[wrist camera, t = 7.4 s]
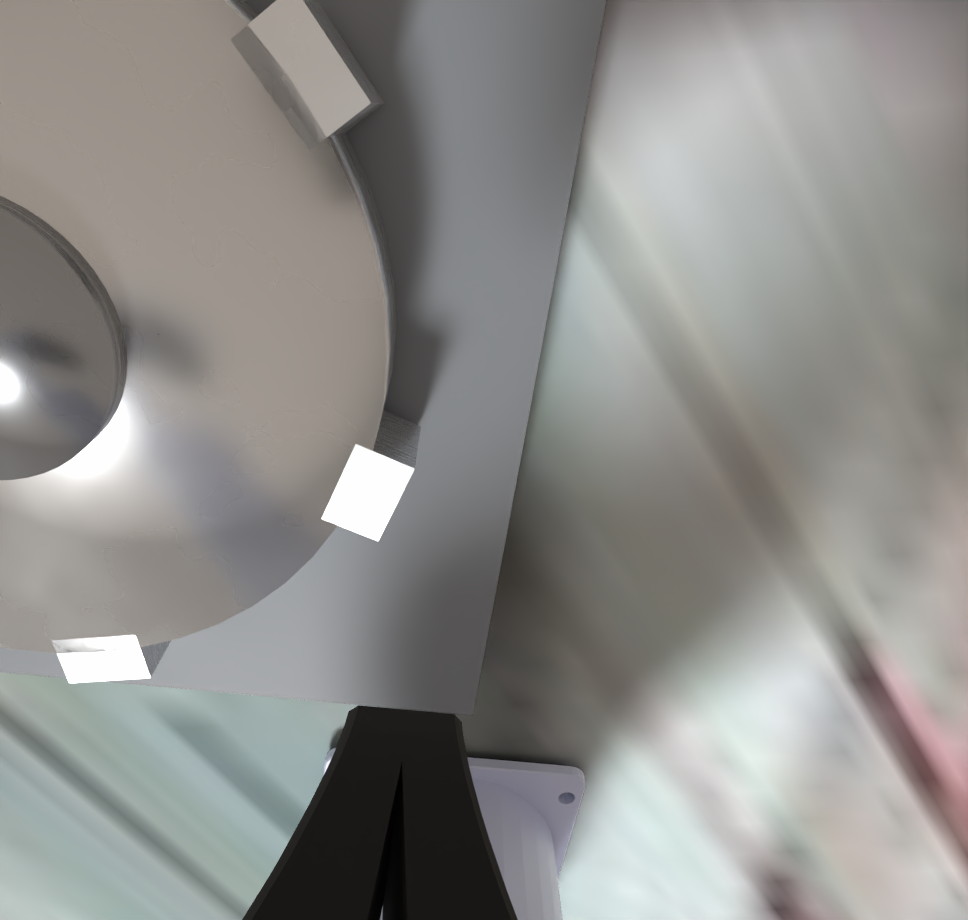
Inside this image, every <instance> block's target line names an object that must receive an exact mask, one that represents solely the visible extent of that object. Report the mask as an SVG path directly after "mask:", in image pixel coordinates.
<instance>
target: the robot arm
mask: <svg viewBox="0 0 968 920" xmlns="http://www.w3.org/2000/svg"><path fill="white" fill-rule="evenodd" d="M584 790H585V777H584V774H583V772H582V770H580V769H578V768H577V767H572V766H563V765H552V764H540V763H529V762H517V761H505V760H494V759H482V758H471V757H467V754H466V749H465V743H464V738H463V731H462V722H461V721H460V720H459V719H458V718H457V717H456V716H455V715H454V714H446V713H435V712H424V711H413V710H402V709H391V708H380V707H369V706H357V707H355V708H354V709H352V710H351V711H349V713H348V716H347V719H346V723H345V726H344V729H343V732H342V734H341V737H340V739H339V742H338V744H337V747H336V748H333V749H331V750H330V751H329V752H328V753H327V756H326V759H325V764H324V776H323V778H322V780H321V782H320V784H319V786H318V788H317V790H316V792H315V794H314V796H313V798H312V800H311V802H310V804H309V806H308V808H307V810H306V812H305V813H304V815H303V817H302V819H301V821H300V823H299V824H298V826H297V828H296V830H295V832H294V834H293V835H292V837H291V839H290V841H289V843H288V844H287V846H286V848H285V850H284V852H283V854H282V855H281V857H280V859H279V861H278V862H277V864H276V866H275V868H274V869H273V871H272V873H271V874H270V876H269V878H268V879H267V881H266V882H265V884H264V886H263V887H262V889H261V891H260V892H259V894H258V895H257V897H256V899H255V900H254V902H253V903H252V905H251V907H250V908H249V910H248V911H247V913H246V915H245V916H244V918H243V919H242V920H563V919H562V911H561V902H560V894H559V885H558V878H559V875H560V871H561V868H562V865H563V861H564V858H565V854H566V851H567V848H568V844H569V841H570V838H571V834H572V831H573V827H574V824H575V821H576V817H577V814H578V811H579V807H580V804H581V800H582V797H583V794H584ZM566 792H568V793H566Z"/></svg>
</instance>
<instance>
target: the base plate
mask: <svg viewBox="0 0 968 920" xmlns="http://www.w3.org/2000/svg"><path fill="white" fill-rule="evenodd" d="M245 1H246V2H247V3H248V4H249V5H250V6H251V7H252V8H253V9H254V10H255V11H256V12H257V13H258V14H259V15H260V14H261V13H262V12H263V11H264V10H265V9H267V8H268V7H269V6H270V5H271V4H272V3H274V2H275V1H276V0H245ZM315 1H317V2H318V3H319V4H320V5H321V7H322V8H323V10H324V11H325V13H326V14H327V16H328V17H329V19H330V20H331V22H332V24H333V25H334V27H335V28H336V30H337V31H338V33H339V34H340V36H341V37H342V39H343V40H344V42H345V43H346V45H347V46H348V48H349V50H350V51H351V53H352V54H353V56H354V57H355V59H356V60H357V62H358V63H359V65H360V66H361V68H362V69H363V71H364V72H365V74H366V75H367V77H368V79H369V80H370V82H371V83H372V85H373V86H374V88H375V89H376V91H377V92H378V94H379V95H380V97H381V98H382V100H383V101H384V103H383V104H382V105H381V106H380V107H378V108H377V109H376V110H374V111H373V112H372V113H370V114H369V115H368V116H367V117H365V118H364V119H363V120H361V121H360V122H359V123H358V124H356V125H355V126H354V127H352V128H351V129H350V130H348V131H347V132H346V133H347V136H348V138H349V140H350V142H351V144H352V147H353V149H354V151H355V153H356V155H357V158H358V160H359V162H360V164H361V166H362V169H363V171H364V173H365V175H366V177H367V180H368V182H369V184H370V187H371V190H372V194H373V197H374V200H375V203H376V206H377V209H378V213H379V216H380V219H381V222H382V225H383V228H384V231H385V236H386V241H387V247H388V252H389V257H390V263H391V268H392V274H393V279H394V292H395V311H396V337H395V350H394V362H393V372H392V376H391V380H390V385H389V389H388V394H387V398H386V403H385V407H384V411H386V412H389V413H391V414H393V415H396V416H398V417H400V418H402V419H405V420H407V421H409V422H412V423H414V424H416V425H419V426H421V429H420V436H419V443H418V450H417V457H416V464H415V470H414V472H413V473H412V475H411V477H410V479H409V481H408V483H407V485H406V487H405V489H404V491H403V493H402V495H401V497H400V499H399V501H398V503H397V505H396V507H395V509H394V511H393V513H392V515H391V517H390V519H389V521H388V523H387V525H386V527H385V529H384V531H383V533H382V535H381V537H380V539H379V541H376V540H374V539H371V538H369V537H366V536H363V535H361V534H358V533H356V532H353V531H351V530H348V529H346V528H343V527H341V526H337V527H336V528H335V530H334V531H333V532H332V533H331V535H330V536H329V537H328V539H327V540H326V541H325V542H324V544H323V545H322V546H321V547H320V549H319V550H318V551H317V553H316V554H315V555H314V556H313V557H312V558H311V559H310V560H309V561H308V562H307V563H306V564H305V565H304V566H303V567H302V568H301V569H300V570H299V571H298V572H297V573H295V574H294V575H293V576H292V577H291V578H290V579H289V580H288V581H287V582H286V583H285V584H284V585H282V586H281V587H279V588H278V589H277V590H275V591H274V592H272V593H271V594H269V595H268V596H267V597H265V598H264V599H262V600H261V601H259V602H258V603H257V604H255V605H254V606H252V607H250V608H248V609H247V610H245V611H243V612H241V613H239V614H237V615H235V616H233V617H231V618H229V619H227V620H225V621H223V622H221V623H219V624H217V625H215V626H212V627H209V628H207V629H204V630H201V631H198V632H196V633H193V634H190V635H187V636H185V637H182V638H178V639H174V640H171V642H170V644H169V646H168V647H167V649H166V651H165V653H164V655H163V656H162V658H161V660H160V662H159V664H158V666H157V667H156V669H155V671H154V673H153V675H152V677H151V678H144V679H128V680H113V681H103V682H113V683H124V684H135V685H146V686H157V687H168V688H179V689H190V690H201V691H212V692H223V693H234V694H245V695H256V696H267V697H278V698H289V699H300V700H311V701H322V702H333V703H344V704H355V705H366V706H377V707H387V708H398V709H409V710H420V711H431V712H442V713H453V714H464V715H473V712H474V707H475V702H476V696H477V691H478V686H479V680H480V675H481V670H482V664H483V659H484V653H485V648H486V643H487V637H488V632H489V627H490V621H491V616H492V611H493V605H494V600H495V595H496V589H497V584H498V579H499V573H500V568H501V563H502V557H503V552H504V547H505V541H506V536H507V531H508V525H509V520H510V514H511V509H512V504H513V498H514V493H515V488H516V482H517V477H518V472H519V466H520V461H521V456H522V450H523V445H524V440H525V434H526V429H527V424H528V418H529V413H530V408H531V402H532V397H533V391H534V386H535V381H536V375H537V370H538V365H539V359H540V354H541V349H542V343H543V338H544V333H545V327H546V322H547V317H548V311H549V306H550V301H551V295H552V290H553V285H554V279H555V274H556V269H557V263H558V258H559V252H560V247H561V242H562V236H563V231H564V226H565V220H566V215H567V210H568V204H569V199H570V194H571V188H572V183H573V178H574V172H575V167H576V162H577V156H578V151H579V146H580V140H581V135H582V130H583V124H584V119H585V113H586V108H587V103H588V97H589V92H590V87H591V81H592V76H593V71H594V65H595V60H596V55H597V49H598V44H599V39H600V33H601V28H602V23H603V17H604V12H605V7H606V1H607V0H315ZM0 672H4V673H15V674H26V675H37V676H48V677H59V678H67V677H66V675H65V672H64V670H63V667H62V665H61V663H60V660H59V658H58V656H57V653H50V652H39V651H27V650H15V649H7V648H2V647H0Z"/></svg>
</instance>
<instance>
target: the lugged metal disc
mask: <svg viewBox="0 0 968 920" xmlns="http://www.w3.org/2000/svg"><path fill="white" fill-rule="evenodd" d="M383 103H384V101H383V100H382V98H381V97H380V95H379V94H378V92H377V91H376V89H375V88H374V86H373V85H372V83H371V82H370V80H369V79H368V77H367V75H366V74H365V72H364V71H363V69H362V68H361V66H360V65H359V63H358V62H357V60H356V59H355V57H354V56H353V54H352V53H351V51H350V50H349V48H348V46H347V45H346V43H345V42H344V40H343V39H342V37H341V36H340V34H339V33H338V31H337V30H336V28H335V27H334V25H333V24H332V22H331V20H330V19H329V17H328V16H327V14H326V13H325V11H324V10H323V8H322V7H321V5H320V4H319V3H318V2H317V1H315V0H276V1H275V2H274V3H272V4H271V5H270V6H269V7H268V8H267V9H265V10H264V11H263V12H262V13H261V14H260V15H259V14H258V13H257V12H256V11H255V10H254V9H253V8H252V7H251V6H250V5H249V4H248V3H247V2H246V1H245V0H0V647H2V648H7V649H15V650H27V651H39V652H50V653H57V656H58V658H59V660H60V663H61V665H62V667H63V670H64V672H65V675H66V677H67V679H68V682H69V683H82V682H98V681H113V680H128V679H144V678H151V677H152V675H153V673H154V671H155V669H156V667H157V666H158V664H159V662H160V660H161V658H162V656H163V655H164V653H165V651H166V649H167V647H168V646H169V644H170V642H171V640H174V639H178V638H182V637H185V636H187V635H190V634H193V633H196V632H198V631H201V630H204V629H207V628H209V627H212V626H215V625H217V624H219V623H221V622H223V621H225V620H227V619H229V618H231V617H233V616H235V615H237V614H239V613H241V612H243V611H245V610H247V609H248V608H250V607H252V606H254V605H255V604H257V603H258V602H259V601H261V600H262V599H264V598H265V597H267V596H268V595H269V594H271V593H272V592H274V591H275V590H277V589H278V588H279V587H281V586H282V585H284V584H285V583H286V582H287V581H288V580H289V579H290V578H291V577H292V576H293V575H294V574H295V573H297V572H298V571H299V570H300V569H301V568H302V567H303V566H304V565H305V564H306V563H307V562H308V561H309V560H310V559H311V558H312V557H313V556H314V555H315V554H316V553H317V551H318V550H319V549H320V547H321V546H322V545H323V544H324V542H325V541H326V540H327V539H328V537H329V536H330V535H331V533H332V532H333V531H334V530H335V528H336V527H337V526H341V527H343V528H346V529H348V530H351V531H353V532H356V533H358V534H361V535H363V536H366V537H369V538H371V539H374V540H376V541H379V539H380V537H381V535H382V533H383V531H384V529H385V527H386V525H387V523H388V521H389V519H390V517H391V515H392V513H393V511H394V509H395V507H396V505H397V503H398V501H399V499H400V497H401V495H402V493H403V491H404V489H405V487H406V485H407V483H408V481H409V479H410V477H411V475H412V473H413V472H414V470H415V464H416V457H417V450H418V443H419V436H420V429H421V426H419V425H416V424H414V423H412V422H409V421H407V420H405V419H402V418H400V417H398V416H396V415H393V414H391V413H389V412H386V411H384V407H385V403H386V398H387V394H388V389H389V385H390V380H391V376H392V372H393V362H394V350H395V337H396V311H395V292H394V279H393V274H392V268H391V263H390V257H389V252H388V247H387V241H386V236H385V231H384V228H383V225H382V222H381V219H380V216H379V213H378V209H377V206H376V203H375V200H374V197H373V194H372V190H371V187H370V184H369V182H368V180H367V177H366V175H365V173H364V171H363V169H362V166H361V164H360V162H359V160H358V158H357V155H356V153H355V151H354V149H353V147H352V144H351V142H350V140H349V138H348V136H347V133H346V132H347V131H348V130H350V129H351V128H352V127H354V126H355V125H356V124H358V123H359V122H360V121H361V120H363V119H364V118H365V117H367V116H368V115H369V114H370V113H372V112H373V111H374V110H376V109H377V108H378V107H380V106H381V105H382V104H383Z"/></svg>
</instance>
